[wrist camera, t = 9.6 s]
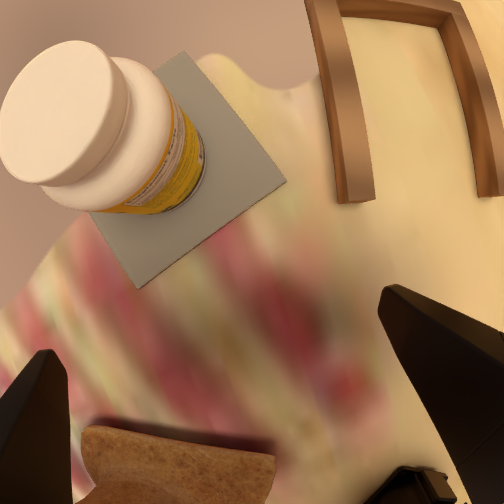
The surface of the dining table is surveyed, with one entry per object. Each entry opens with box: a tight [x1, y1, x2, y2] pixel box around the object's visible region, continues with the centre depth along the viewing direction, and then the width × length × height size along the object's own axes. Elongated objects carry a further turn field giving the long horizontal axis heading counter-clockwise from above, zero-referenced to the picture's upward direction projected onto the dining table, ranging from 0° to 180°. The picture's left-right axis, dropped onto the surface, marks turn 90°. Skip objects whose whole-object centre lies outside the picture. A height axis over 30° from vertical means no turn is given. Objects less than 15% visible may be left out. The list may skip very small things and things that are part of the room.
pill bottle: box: [0, 41, 206, 215], centre depth 13 cm, size 6×6×11 cm
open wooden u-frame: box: [304, 0, 504, 204], centre depth 16 cm, size 15×12×2 cm
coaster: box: [89, 51, 287, 290], centre depth 19 cm, size 11×11×1 cm
